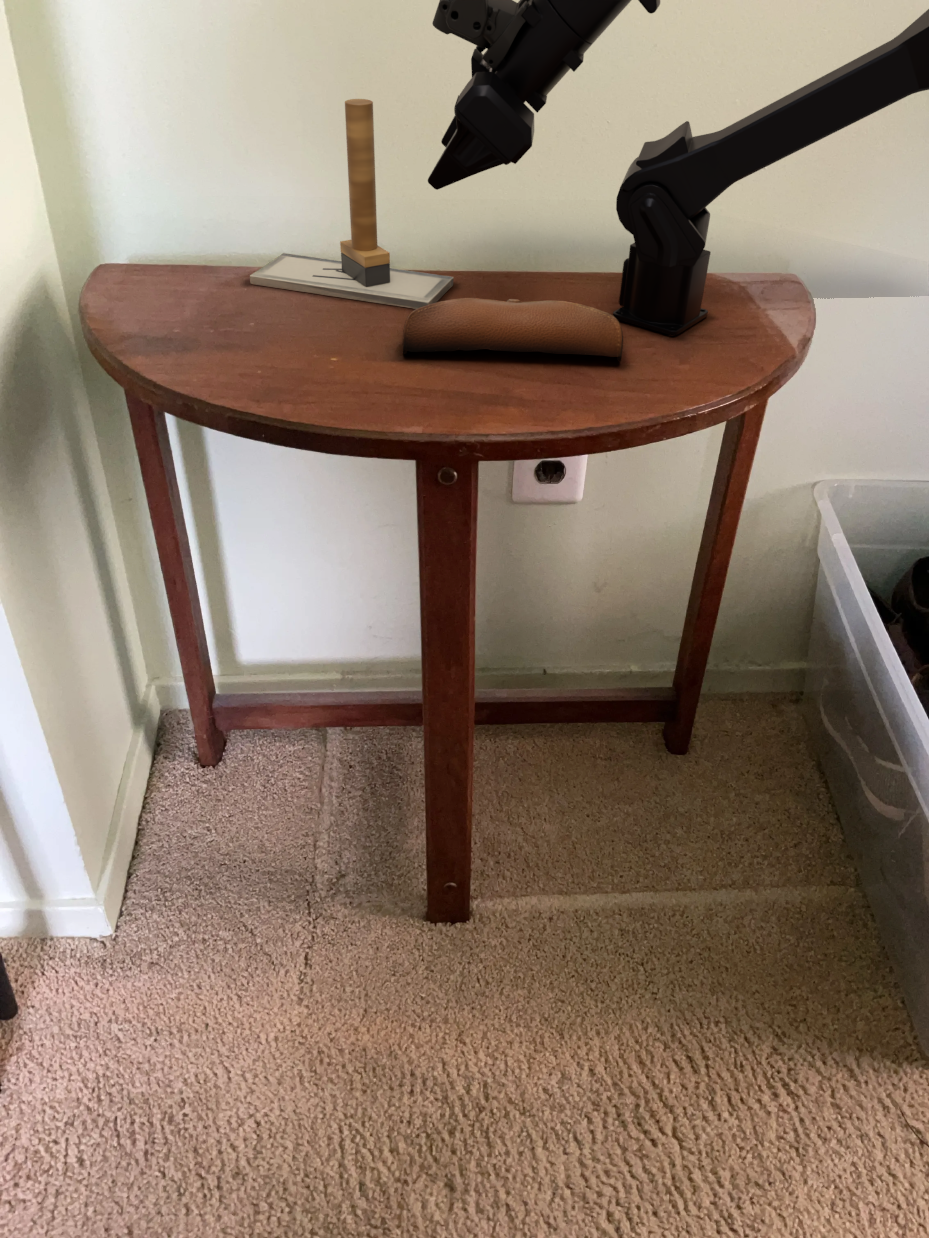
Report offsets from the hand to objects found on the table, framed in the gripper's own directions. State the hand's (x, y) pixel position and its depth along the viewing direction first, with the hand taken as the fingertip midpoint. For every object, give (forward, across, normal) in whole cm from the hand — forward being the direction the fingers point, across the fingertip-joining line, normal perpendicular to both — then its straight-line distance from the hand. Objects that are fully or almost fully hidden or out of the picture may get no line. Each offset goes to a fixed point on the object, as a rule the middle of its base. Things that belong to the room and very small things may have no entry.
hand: (438, 165), depth 86 cm
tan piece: (+13, 0, +2) cm, 13 cm away
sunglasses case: (+3, +12, +13) cm, 18 cm away
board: (+14, 0, +1) cm, 14 cm away
